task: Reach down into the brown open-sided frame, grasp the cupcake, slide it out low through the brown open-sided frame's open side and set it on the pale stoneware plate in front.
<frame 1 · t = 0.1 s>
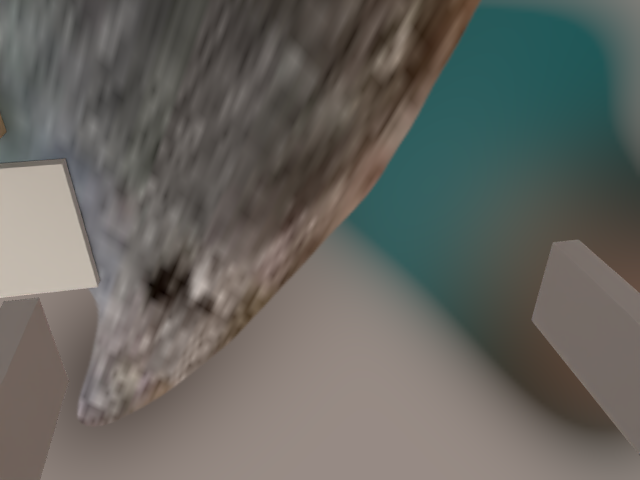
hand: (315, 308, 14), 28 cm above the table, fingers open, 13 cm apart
plate: (8, 230, 40), on the table
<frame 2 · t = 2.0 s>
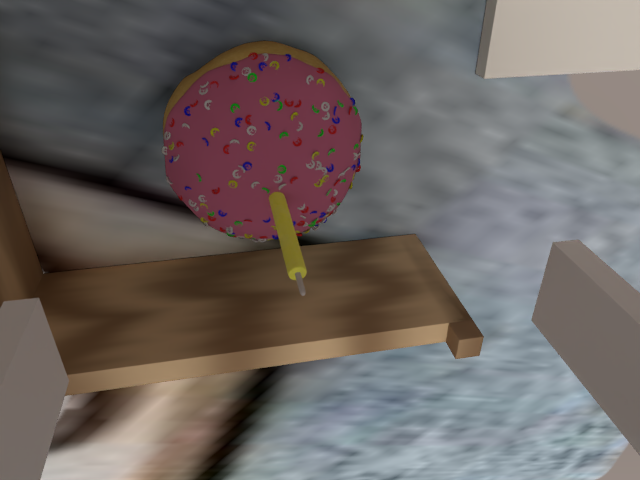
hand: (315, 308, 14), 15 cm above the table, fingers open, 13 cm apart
brown open-sided frame: (214, 118, 26), on the table
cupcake: (254, 114, 26), on the table
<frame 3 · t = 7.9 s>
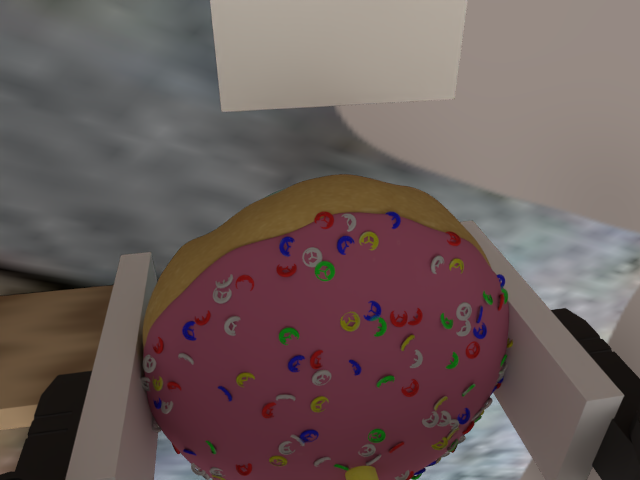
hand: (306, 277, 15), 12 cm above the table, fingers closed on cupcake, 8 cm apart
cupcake: (299, 248, 16), point 11 cm above the table, touching gripper
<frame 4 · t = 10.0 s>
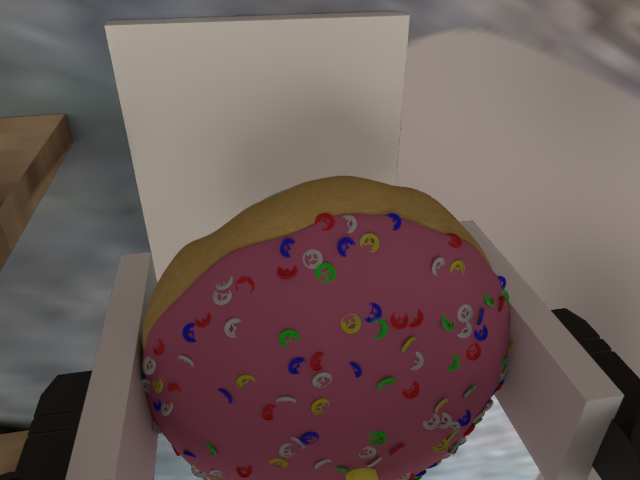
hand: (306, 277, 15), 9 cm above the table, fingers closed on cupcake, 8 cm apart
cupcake: (299, 249, 16), point 8 cm above the table, touching gripper
plate: (269, 152, 23), on the table
when the fingers open (4 cm above the table, at t = 11.8 s): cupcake drops 1 cm, resting on plate.
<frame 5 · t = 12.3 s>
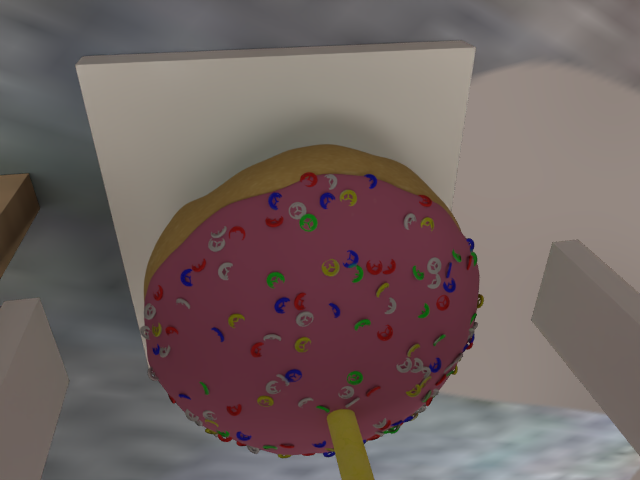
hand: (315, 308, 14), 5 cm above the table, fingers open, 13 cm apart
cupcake: (290, 228, 17), point 1 cm above the table, touching plate
plate: (289, 214, 18), on the table
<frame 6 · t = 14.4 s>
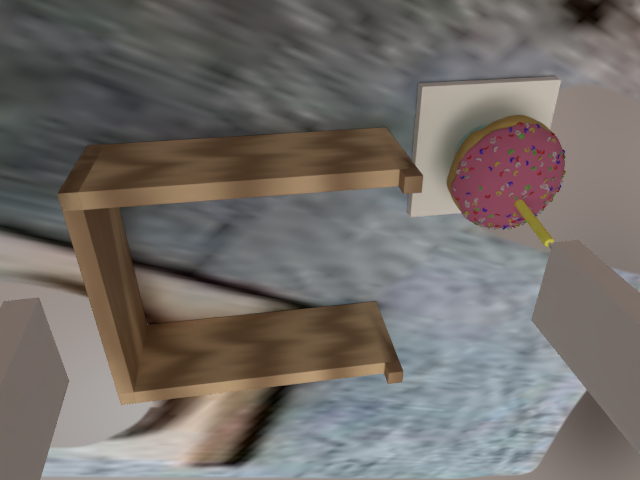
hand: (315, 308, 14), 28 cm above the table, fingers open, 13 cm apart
brown open-sided frame: (251, 239, 44), on the table
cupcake: (480, 151, 42), point 1 cm above the table, touching plate
plate: (476, 147, 43), on the table
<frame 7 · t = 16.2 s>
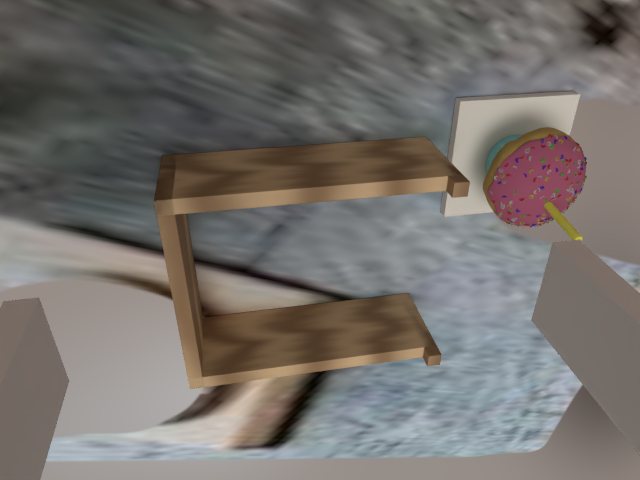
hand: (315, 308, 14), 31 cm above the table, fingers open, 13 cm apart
brown open-sided frame: (301, 238, 49), on the table
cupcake: (507, 157, 48), point 1 cm above the table, touching plate
plate: (504, 153, 48), on the table
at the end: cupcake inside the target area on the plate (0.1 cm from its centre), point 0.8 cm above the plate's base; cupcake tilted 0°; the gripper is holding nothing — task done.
